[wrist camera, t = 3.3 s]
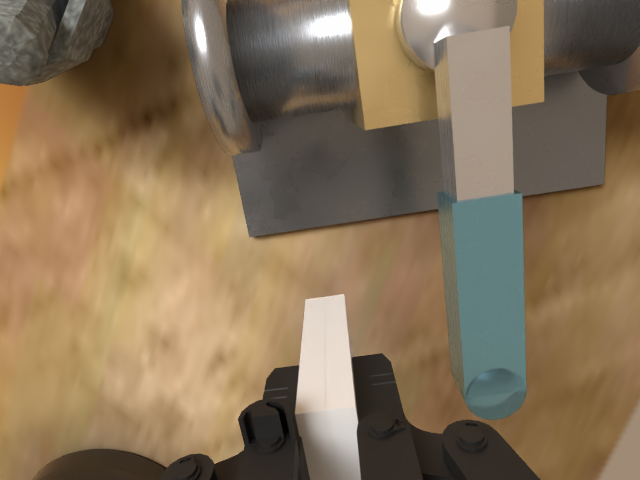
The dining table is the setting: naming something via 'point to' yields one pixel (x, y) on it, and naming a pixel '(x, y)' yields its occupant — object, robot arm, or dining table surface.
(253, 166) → the valve body
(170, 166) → the dining table surface
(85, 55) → the mortar and pestle
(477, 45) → the lever
